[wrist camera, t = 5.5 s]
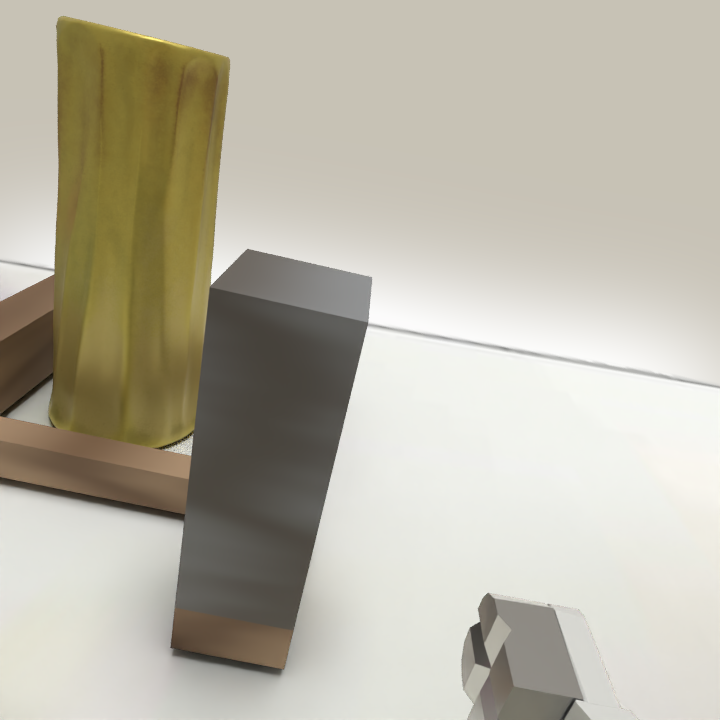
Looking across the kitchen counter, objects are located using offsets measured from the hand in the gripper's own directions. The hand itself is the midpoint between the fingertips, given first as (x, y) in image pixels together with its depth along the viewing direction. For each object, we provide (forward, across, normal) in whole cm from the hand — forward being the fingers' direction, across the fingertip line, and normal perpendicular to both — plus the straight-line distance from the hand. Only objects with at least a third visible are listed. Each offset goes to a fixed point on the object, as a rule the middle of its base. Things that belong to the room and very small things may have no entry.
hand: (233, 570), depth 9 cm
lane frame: (+11, +6, +7) cm, 14 cm away
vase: (+14, +7, +7) cm, 17 cm away
